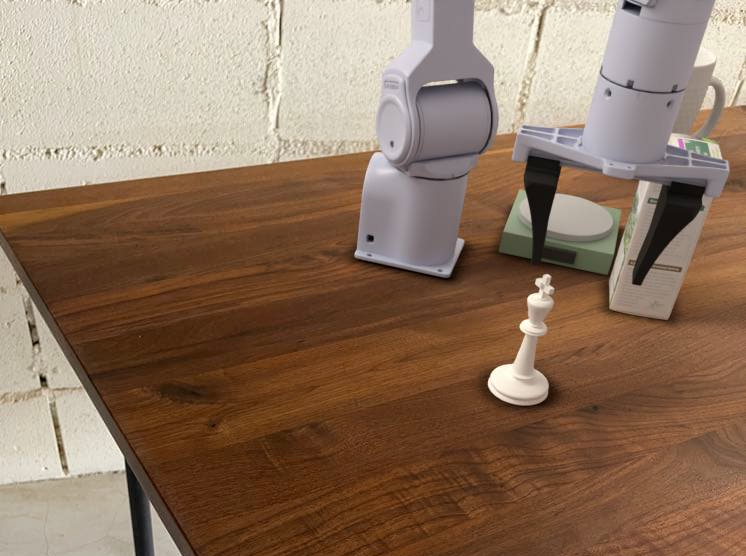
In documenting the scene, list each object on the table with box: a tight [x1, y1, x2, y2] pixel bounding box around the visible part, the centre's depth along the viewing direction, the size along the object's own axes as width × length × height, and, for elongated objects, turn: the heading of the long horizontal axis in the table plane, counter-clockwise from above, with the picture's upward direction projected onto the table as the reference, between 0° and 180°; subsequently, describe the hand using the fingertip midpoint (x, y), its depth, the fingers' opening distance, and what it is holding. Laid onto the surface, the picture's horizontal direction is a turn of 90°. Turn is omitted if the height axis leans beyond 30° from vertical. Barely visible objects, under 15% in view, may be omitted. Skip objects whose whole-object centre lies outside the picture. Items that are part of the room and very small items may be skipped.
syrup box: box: [608, 133, 723, 321], centre depth 79 cm, size 6×6×14 cm
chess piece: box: [487, 273, 555, 407], centre depth 69 cm, size 5×5×10 cm
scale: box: [498, 188, 623, 276], centre depth 91 cm, size 11×11×3 cm
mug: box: [672, 45, 726, 138], centre depth 104 cm, size 15×11×13 cm
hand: (586, 269), depth 68 cm, fingers open, 7 cm apart
